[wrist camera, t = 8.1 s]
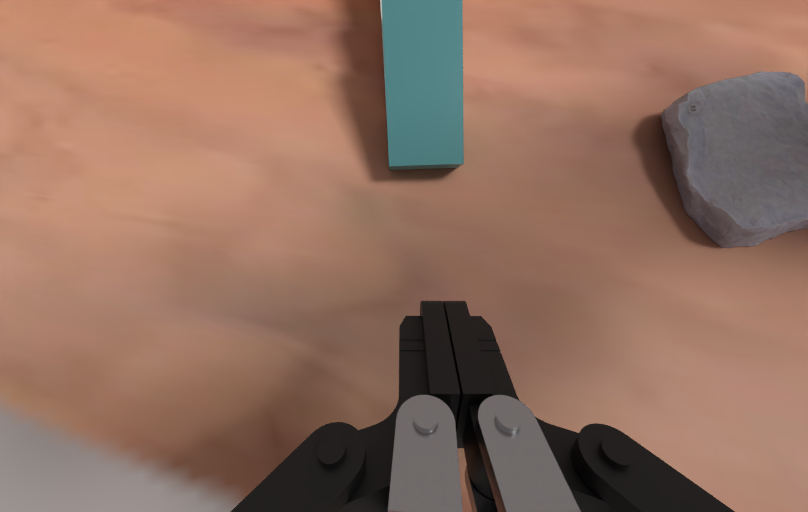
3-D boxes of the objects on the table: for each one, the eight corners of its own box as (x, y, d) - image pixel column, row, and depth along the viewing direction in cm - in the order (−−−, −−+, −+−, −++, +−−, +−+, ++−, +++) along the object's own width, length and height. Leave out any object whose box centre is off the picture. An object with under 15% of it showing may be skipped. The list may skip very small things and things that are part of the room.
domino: (389, 170, 22) (382, 18, 21) (457, 167, 22) (455, 17, 21) (388, 166, 20) (381, -2, 19) (463, 163, 20) (462, -3, 19)
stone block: (688, 265, 23) (835, 223, 22) (745, 248, 18) (935, 194, 17) (614, 137, 26) (738, 95, 25) (647, 95, 21) (800, 42, 20)
